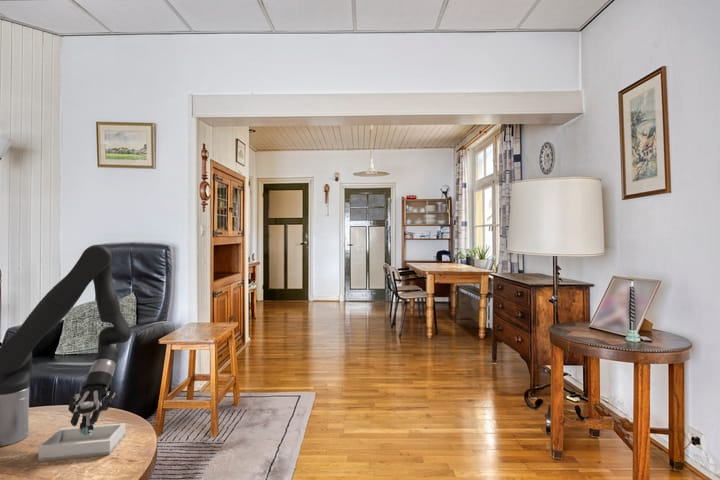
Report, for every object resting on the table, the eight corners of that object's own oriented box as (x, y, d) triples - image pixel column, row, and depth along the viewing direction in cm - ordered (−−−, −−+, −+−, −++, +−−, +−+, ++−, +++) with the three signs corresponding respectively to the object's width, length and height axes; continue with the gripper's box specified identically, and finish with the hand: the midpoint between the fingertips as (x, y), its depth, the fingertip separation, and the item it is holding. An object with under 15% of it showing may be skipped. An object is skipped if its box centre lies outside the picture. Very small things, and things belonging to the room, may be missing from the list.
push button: (100, 433, 124) (101, 403, 124) (81, 439, 119) (83, 408, 120) (90, 427, 127) (92, 398, 128) (72, 434, 123) (74, 403, 123)
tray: (38, 461, 115) (38, 447, 115) (61, 441, 127) (61, 428, 127) (109, 454, 119) (109, 440, 119) (125, 435, 131) (125, 423, 131)
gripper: (74, 371, 129) (52, 422, 118) (119, 368, 132) (103, 418, 120) (82, 381, 135) (62, 430, 123) (125, 378, 137) (110, 426, 126)
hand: (82, 424), depth 122 cm, fingers closed on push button, 4 cm apart
